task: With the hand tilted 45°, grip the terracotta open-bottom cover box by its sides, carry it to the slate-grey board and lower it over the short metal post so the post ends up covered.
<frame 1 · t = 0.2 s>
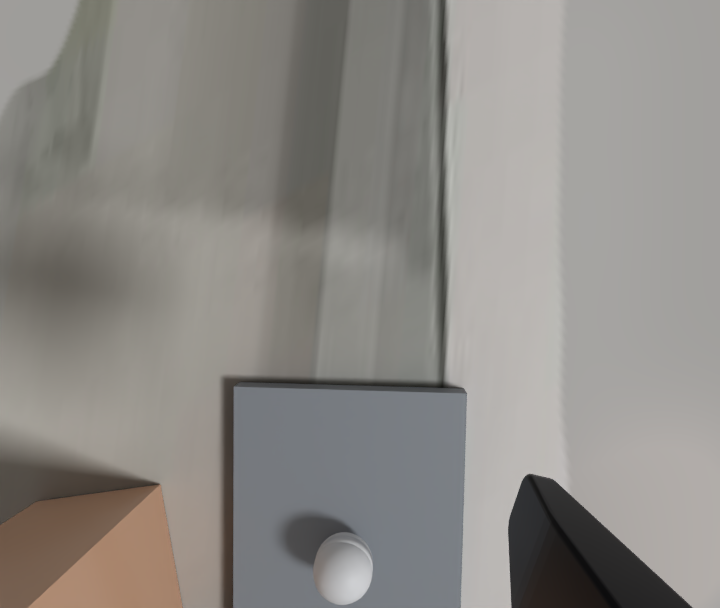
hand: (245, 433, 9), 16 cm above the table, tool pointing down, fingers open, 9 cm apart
cover box: (109, 555, 26), on the table
post board: (348, 537, 25), on the table
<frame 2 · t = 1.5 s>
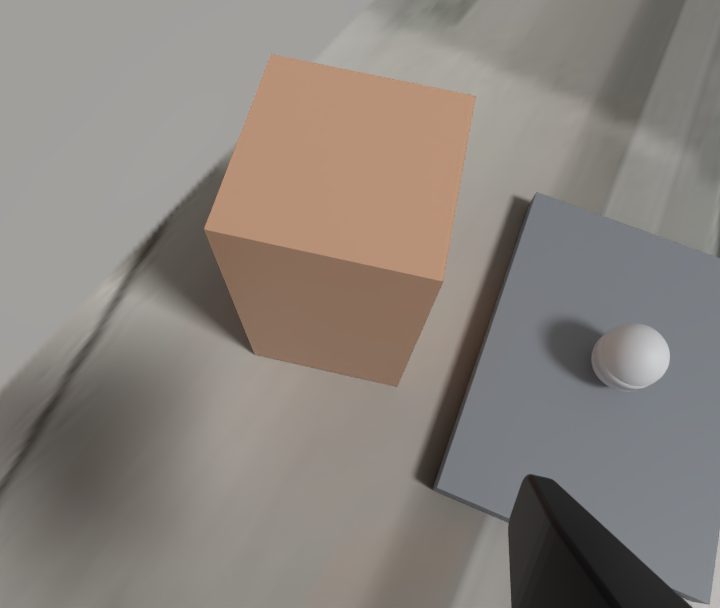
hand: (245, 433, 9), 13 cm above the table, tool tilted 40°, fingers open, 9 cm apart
cover box: (342, 304, 24), on the table
post board: (599, 375, 23), on the table
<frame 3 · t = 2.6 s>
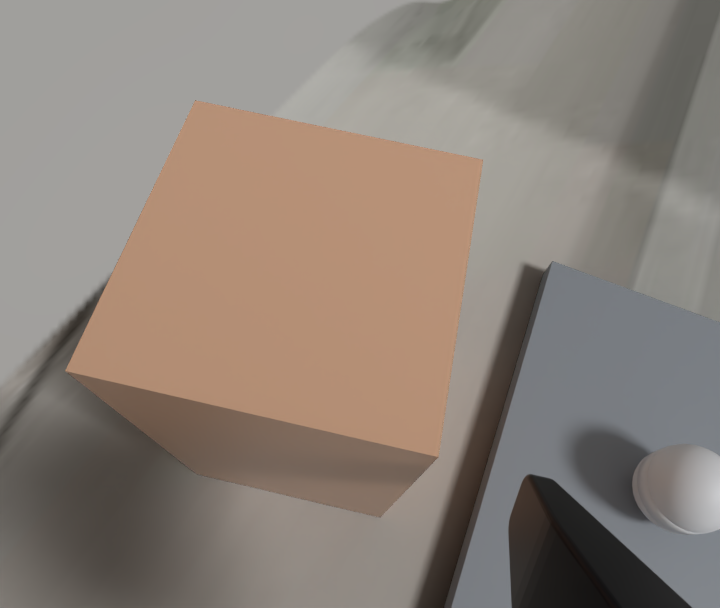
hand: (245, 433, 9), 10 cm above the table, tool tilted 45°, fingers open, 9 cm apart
cover box: (311, 405, 19), on the table
post board: (639, 499, 18), on the table
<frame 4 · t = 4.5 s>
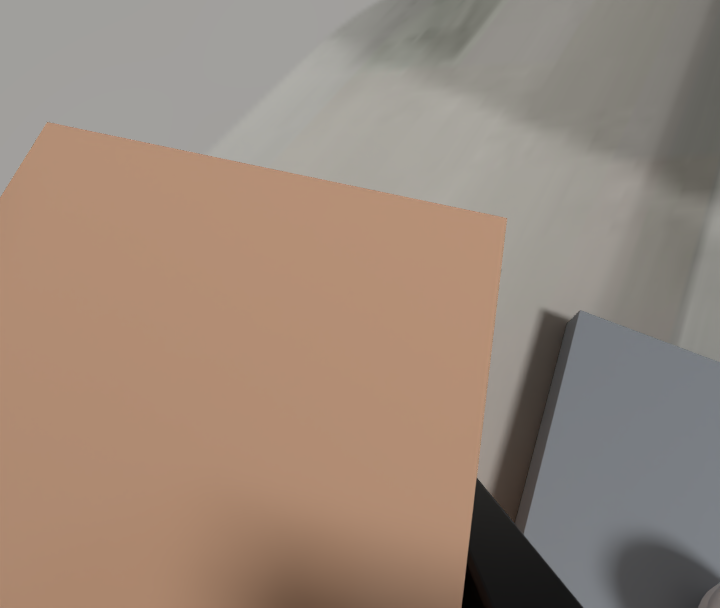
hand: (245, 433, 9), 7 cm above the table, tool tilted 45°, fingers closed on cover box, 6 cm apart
cover box: (273, 503, 15), on the table, touching gripper
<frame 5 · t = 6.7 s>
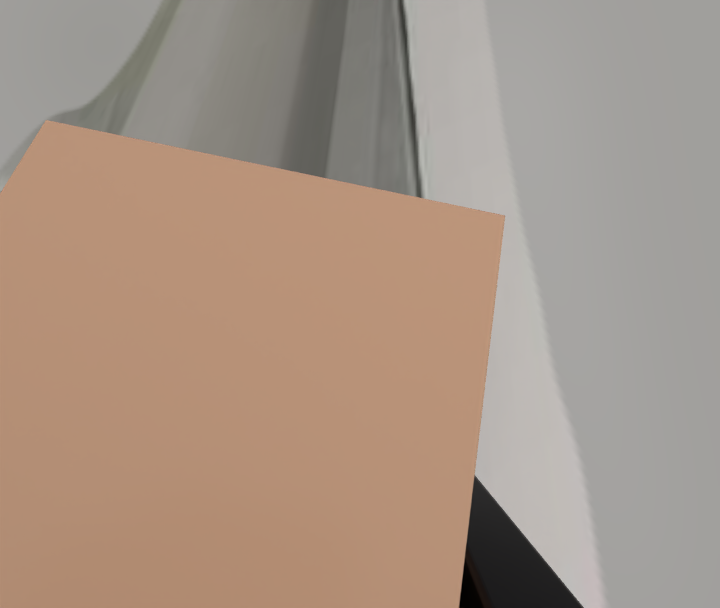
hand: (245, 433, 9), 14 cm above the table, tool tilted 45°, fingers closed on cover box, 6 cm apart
cover box: (273, 501, 15), point 7 cm above the table, touching gripper
when the fingers open (8 cm above the table, at t = 9.2 s): cover box stays where it is, resting on post board.
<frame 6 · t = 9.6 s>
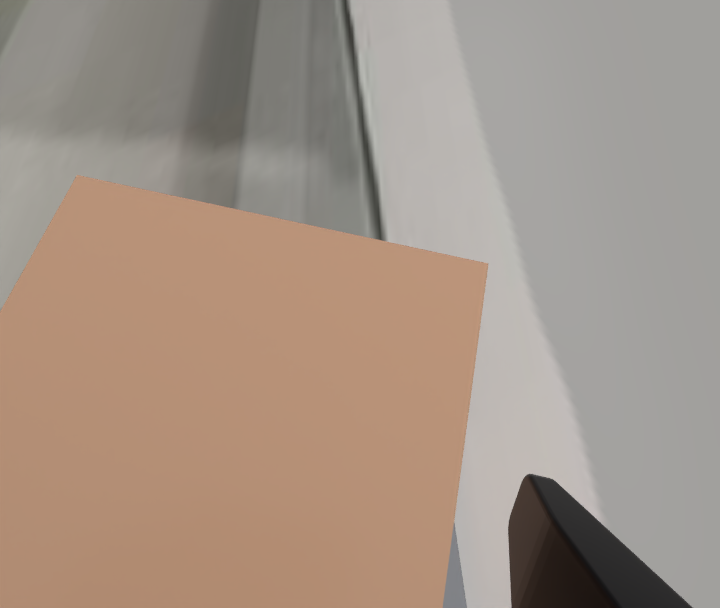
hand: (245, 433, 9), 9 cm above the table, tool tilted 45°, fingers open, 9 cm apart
cover box: (276, 509, 16), point 1 cm above the table, touching post board
post board: (277, 510, 16), on the table
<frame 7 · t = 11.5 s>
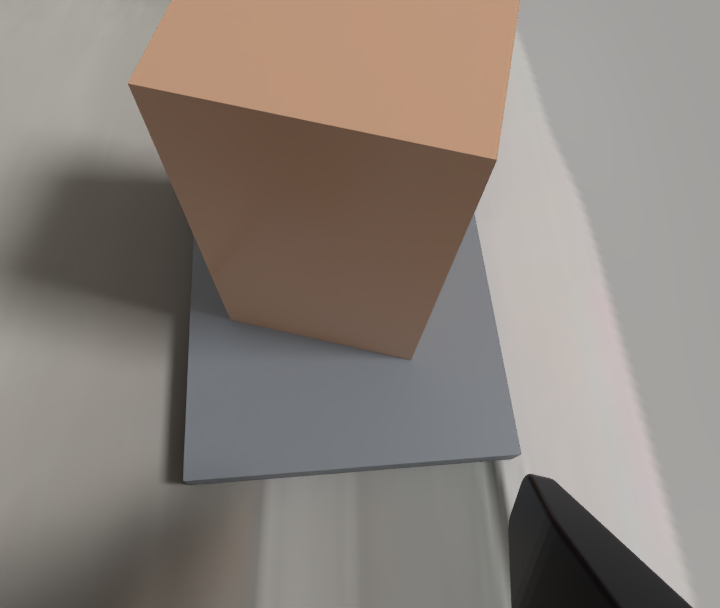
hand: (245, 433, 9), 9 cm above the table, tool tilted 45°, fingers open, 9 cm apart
cover box: (341, 260, 19), point 1 cm above the table, touching post board
post board: (339, 271, 20), on the table
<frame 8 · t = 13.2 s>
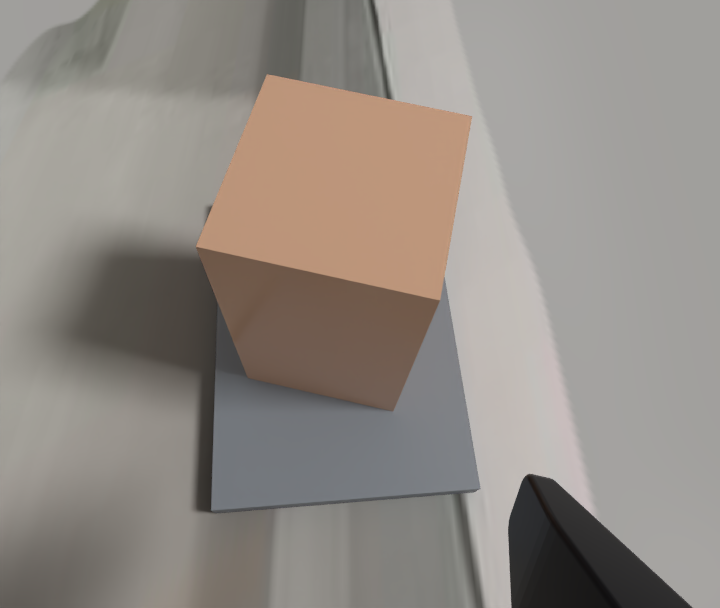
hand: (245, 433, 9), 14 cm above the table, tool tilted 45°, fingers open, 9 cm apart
cover box: (337, 327, 24), point 1 cm above the table, touching post board
post board: (335, 335, 24), on the table
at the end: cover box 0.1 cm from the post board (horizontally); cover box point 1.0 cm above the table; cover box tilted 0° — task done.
